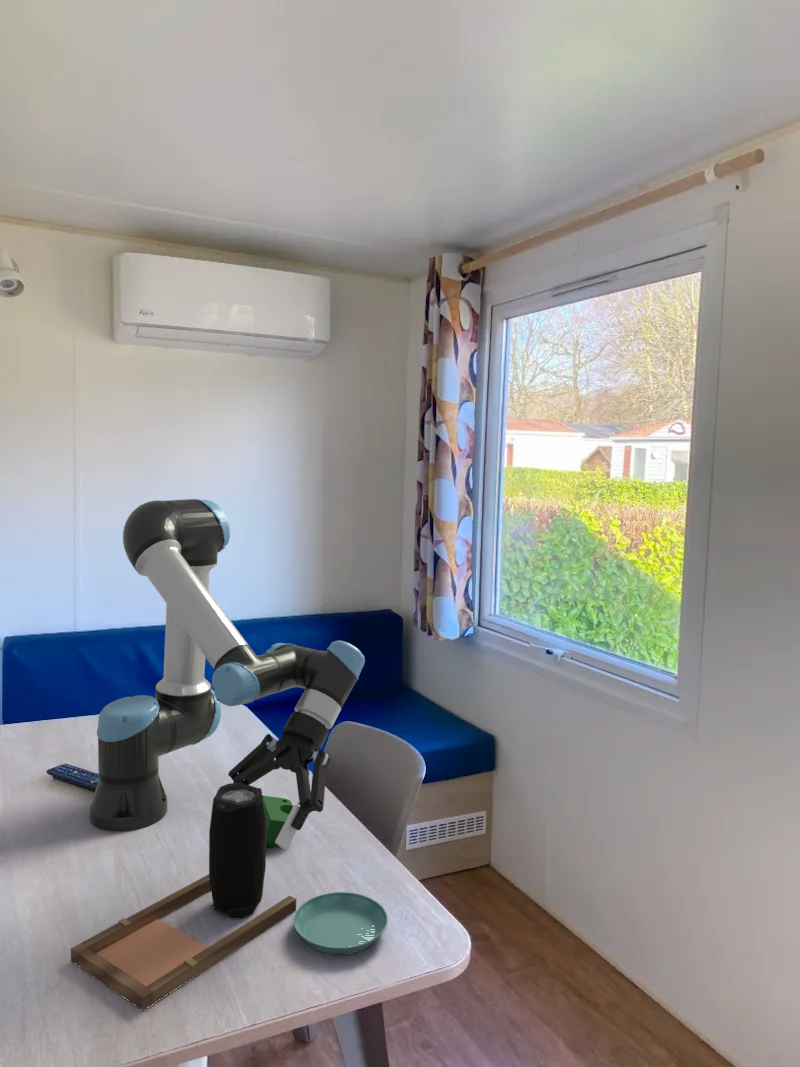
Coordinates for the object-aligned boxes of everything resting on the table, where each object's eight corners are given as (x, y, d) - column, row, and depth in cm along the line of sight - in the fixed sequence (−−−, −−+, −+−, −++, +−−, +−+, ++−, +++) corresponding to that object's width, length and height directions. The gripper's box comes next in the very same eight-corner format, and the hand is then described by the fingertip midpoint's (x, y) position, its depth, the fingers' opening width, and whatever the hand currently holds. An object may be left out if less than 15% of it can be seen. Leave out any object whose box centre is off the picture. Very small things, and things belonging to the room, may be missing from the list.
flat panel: (95, 955, 114) (95, 953, 114) (157, 920, 123) (157, 918, 123) (154, 994, 106) (154, 992, 106) (216, 954, 115) (216, 952, 115)
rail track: (70, 960, 113) (70, 946, 112) (224, 875, 137) (224, 863, 136) (144, 1012, 103) (143, 996, 102) (296, 910, 127) (296, 897, 126)
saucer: (308, 973, 112) (309, 956, 111) (282, 917, 125) (282, 902, 125) (402, 950, 117) (402, 934, 117) (367, 899, 131) (367, 884, 131)
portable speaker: (275, 899, 130) (276, 787, 128) (238, 928, 121) (239, 809, 120) (235, 884, 134) (236, 776, 132) (197, 911, 126) (198, 796, 124)
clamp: (287, 863, 150) (301, 830, 146) (257, 860, 148) (271, 827, 144) (282, 815, 160) (296, 783, 157) (254, 811, 158) (268, 779, 155)
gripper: (376, 746, 133) (318, 866, 122) (271, 717, 147) (211, 822, 137) (357, 725, 128) (295, 848, 117) (251, 696, 142) (187, 803, 132)
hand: (250, 834), depth 127 cm, fingers open, 13 cm apart
